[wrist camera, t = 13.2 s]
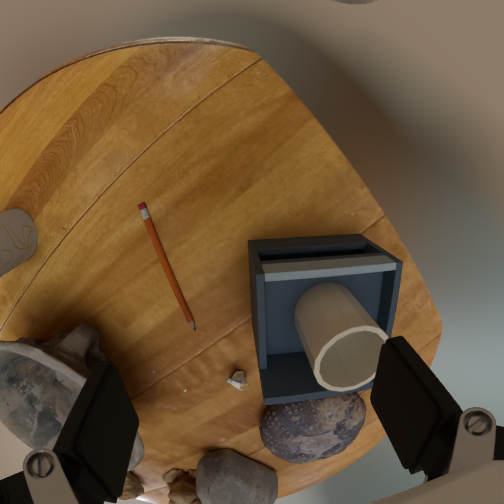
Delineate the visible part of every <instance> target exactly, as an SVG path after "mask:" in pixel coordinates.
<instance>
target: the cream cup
mask: <svg viewBox="0 0 504 504" xmlns="http://www.w3.org/2000/svg"><path fill="white" fill-rule="evenodd" d="M294 322H295V326H296V329H297V331H298V334H299V336H300V339H301V342H302V344H303V347H304V350H305V352H306V355H307V357H308V360H309V363H310V365H311V368H312V371H313V373H314V375H315V378H316V380H317V382H318V383H319V384H320V385H321V386H323V387H324V388H326V389H328V390H332V391H339V392H341V391H342V392H343V391H348V390H353V389H357V388H359V387H361V386H363V385H365V384H367V383H369V382H370V381H371V380H372V379H373V378H375V374H376V369H377V365H378V360H379V355H380V350H381V346H382V344H384V343H385V341H386V340H387V339H388V338H389V337H388V335H387V334H386V333H385V332H384V330H383V329H382V328H381V327H380V326H379V324H378V323H377V322H376V321H375V319H374V318H373V317H372V316H371V315H370V313H369V312H368V311H367V310H366V309H365V308H364V306H363V305H362V304H361V303H360V302H359V300H358V299H357V298H356V297H355V296H354V295H353V294H352V293H351V292H350V290H349V289H348V288H346V287H345V286H343V285H341V284H338V283H332V282H328V283H322V284H318V285H316V286H314V287H312V288H310V289H309V290H307V291H306V292H305V293H304V294H303V295H302V296H301V297H300V299H299V300H298V302H297V304H296V307H295V310H294Z"/></svg>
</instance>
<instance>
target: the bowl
mask: <svg viewBox="0 0 504 504" xmlns="http://www.w3.org/2000/svg"><path fill="white" fill-rule="evenodd" d="M99 339H100V334H99V332H98V331H97V329H96V328H95V327H94V326H92V325H91V324H90V323H83V324H81V325H79V326H78V327H76V328H75V329H74V330H73V331H72V332H71V333H69V332H61V333H57V334H56V335H54V336H53V337H52V338H51V339H50V340H49V341H48V342H43V341H40V340H36V339H32V338H24V337H22V338H19V339H18V340H16V341H15V342H14V341H2V340H1V341H0V420H1V422H2V423H3V424H4V425H5V426H6V427H7V428H8V429H9V430H10V431H11V432H12V433H13V434H14V435H15V436H16V437H17V438H19V439H20V440H21V441H23V442H24V443H25V444H27V445H28V446H29V447H31V448H32V449H34V450H35V449H39V448H46V449H49V450H51V451H52V449H53V447H54V445H55V443H56V441H57V438H58V436H59V434H60V432H61V430H62V428H63V425H64V423H65V421H66V419H67V417H68V415H69V413H70V411H71V409H72V407H73V405H74V403H75V401H76V399H77V397H78V395H79V393H80V391H81V389H82V387H83V386H84V384H85V382H86V380H87V378H88V376H89V374H90V372H91V370H92V369H93V367H94V365H95V364H96V363H110V364H112V363H111V361H110V360H109V358H108V357H107V355H106V354H104V353H103V352H102V351H101V350H100V349H99ZM143 457H144V445H143V443H142V440H141V437H140V436H139V433H138V431H137V434H136V438H135V442H134V446H133V450H132V454H131V458H130V462H129V467H128V471H131V470H133V469H134V468H135V467H136V466H137V465H138V464H139V463H140V462H141V460H142V459H143ZM128 471H127V472H128Z"/></svg>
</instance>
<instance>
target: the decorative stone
mask: <svg viewBox="0 0 504 504" xmlns="http://www.w3.org/2000/svg"><path fill="white" fill-rule="evenodd" d="M196 491H197V495H198V497H199V498H200V500H201V502H202V503H203V504H273V503H274V502H275V500H276V499H277V495H278V477H277V475H276V473H275V472H273V471H272V470H270V469H269V468H267V467H266V466H264V465H262V464H260V463H257V462H255V461H252V460H250V459H247V458H245V457H243V456H241V455H239V454H237V453H236V452H234V451H233V450H231V449H221V450H217V451H213V452H210V453H208V454H205V455H204V456H203V457H202V458H201V459H200V460H199V462H198V464H197V470H196Z"/></svg>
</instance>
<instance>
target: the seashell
mask: <svg viewBox="0 0 504 504" xmlns="http://www.w3.org/2000/svg"><path fill="white" fill-rule="evenodd" d="M143 493H144V488H143V487H142V485H141V484H140V482H139V480H138V479H136V478H135V477H134V476H133V475H132V474H131V473H130V472H129V471H128V472H127V475H126V480H125V484H124V489H123V493H122V496H121V497H118V498H119V499H121V500H127V499H130V498H131V499H135V498H136V497H138V496H140V495H142V494H143Z"/></svg>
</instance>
